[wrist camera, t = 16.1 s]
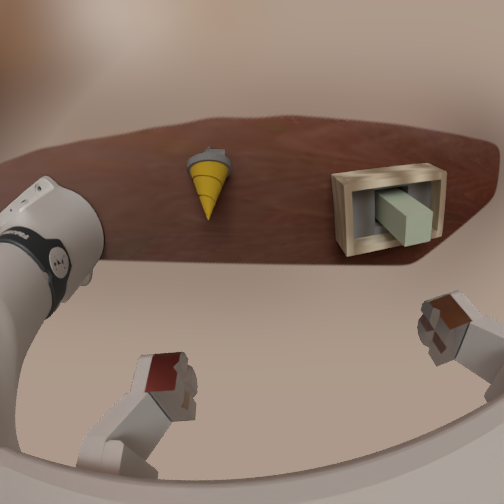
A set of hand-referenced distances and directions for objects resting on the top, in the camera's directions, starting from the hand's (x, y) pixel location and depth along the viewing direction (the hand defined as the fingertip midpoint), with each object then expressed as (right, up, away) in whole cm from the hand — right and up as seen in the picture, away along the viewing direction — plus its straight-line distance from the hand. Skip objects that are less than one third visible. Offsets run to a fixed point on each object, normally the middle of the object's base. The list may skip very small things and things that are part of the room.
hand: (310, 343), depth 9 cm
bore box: (+17, +10, +31) cm, 37 cm away
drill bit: (-7, +13, +28) cm, 32 cm away
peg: (+17, +10, +31) cm, 37 cm away
